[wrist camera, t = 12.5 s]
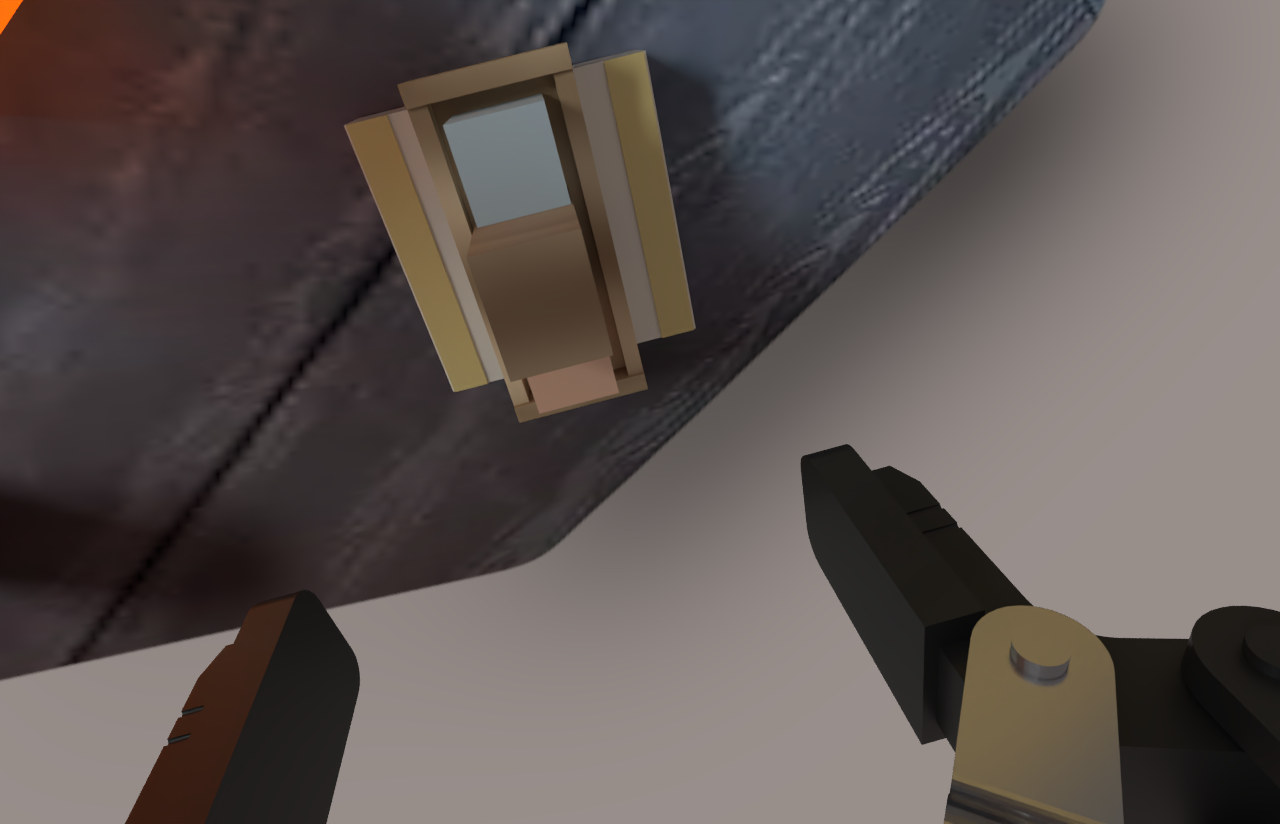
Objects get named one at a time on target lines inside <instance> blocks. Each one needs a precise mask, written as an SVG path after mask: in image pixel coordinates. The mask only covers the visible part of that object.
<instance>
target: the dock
mask: <svg viewBox="0 0 1280 824" xmlns="http://www.w3.org/2000/svg"><path fill="white" fill-rule="evenodd" d="M572 67H573V68H572V69H573V73H574V77H575V81H576V86H577V90H578V94H579V98H580V103H581V107H582V111H583V115H584V120H585V124H586V128H587V133H588V137H589V141H590V145H591V150H592V154H593V158H594V162H595V167H596V171H597V175H598V179H599V184H600V188H601V192H602V197H603V201H604V205H605V209H606V214H607V218H608V222H609V226H610V231H611V235H612V239H613V243H614V248H615V252H616V256H617V261H618V265H619V269H620V273H621V278H622V282H623V286H624V290H625V295H626V299H627V303H628V307H629V312H630V316H631V320H632V325H633V329H634V333H635V337H636V342H637V344H638V343H641V342H645V341H649V340H653V339H657V338H661V337H662V338H665V337H668V336H672V335H676V334H680V333H684V332H688V331H691V330H694V329H695V328H696V327H695V321H694V316H693V310H692V305H691V299H690V294H689V288H688V283H687V277H686V271H685V266H684V260H683V255H682V249H681V244H680V238H679V233H678V227H677V222H676V216H675V211H674V205H673V199H672V194H671V188H670V183H669V177H668V172H667V166H666V161H665V155H664V150H663V144H662V138H661V133H660V127H659V122H658V116H657V111H656V105H655V100H654V94H653V89H652V83H651V77H650V72H649V66H648V61H647V55H646V51H645V50H631V51H627V52H623V53H619V54H615V55H611V56H607V57H603V58H599V59H595V60H591V61H587V62H583V63H579V64H575V65H572ZM344 127H345V130H346V132H347V135H348V137H349V140H350V142H351V144H352V147H353V149H354V152H355V154H356V157H357V159H358V161H359V164H360V166H361V169H362V171H363V174H364V176H365V178H366V181H367V183H368V186H369V188H370V191H371V193H372V195H373V198H374V200H375V203H376V205H377V208H378V210H379V212H380V215H381V217H382V220H383V222H384V225H385V227H386V229H387V232H388V234H389V237H390V239H391V242H392V244H393V246H394V249H395V251H396V254H397V256H398V259H399V261H400V263H401V266H402V268H403V271H404V273H405V276H406V278H407V280H408V283H409V285H410V288H411V290H412V293H413V295H414V297H415V300H416V302H417V305H418V307H419V310H420V312H421V314H422V317H423V319H424V322H425V324H426V327H427V329H428V331H429V334H430V336H431V339H432V341H433V344H434V346H435V348H436V351H437V353H438V356H439V358H440V361H441V363H442V365H443V368H444V370H445V373H446V375H447V378H448V380H449V382H450V385H451V387H452V390H453V392H454V391H455V392H458V391H462V390H466V389H469V388H473V387H477V386H481V385H485V384H488V382H492V381H496V380H500V379H503V378H504V377H503V374H502V371H501V368H500V365H499V363H498V360H497V357H496V354H495V352H494V349H493V346H492V343H491V341H490V338H489V335H488V332H487V329H486V327H485V324H484V321H483V318H482V316H481V313H480V310H479V307H478V305H477V302H476V299H475V296H474V293H473V291H472V288H471V285H470V282H469V280H468V277H467V274H466V271H465V269H464V266H463V263H462V260H461V258H460V255H459V252H458V249H457V246H456V244H455V241H454V238H453V235H452V233H451V230H450V227H449V224H448V222H447V219H446V216H445V213H444V210H443V208H442V205H441V202H440V199H439V197H438V194H437V191H436V188H435V186H434V183H433V180H432V177H431V174H430V172H429V169H428V166H427V163H426V161H425V158H424V155H423V152H422V150H421V147H420V144H419V141H418V138H417V136H416V133H415V130H414V127H413V125H412V122H411V119H410V116H409V114H408V111H407V110H406V108H405V107H401V108H397V109H393V110H389V111H385V112H381V113H377V114H373V115H369V116H365V117H361V118H358V119H356V120H354V121H352V122H350V123H348V124H346V125H344Z"/></svg>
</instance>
